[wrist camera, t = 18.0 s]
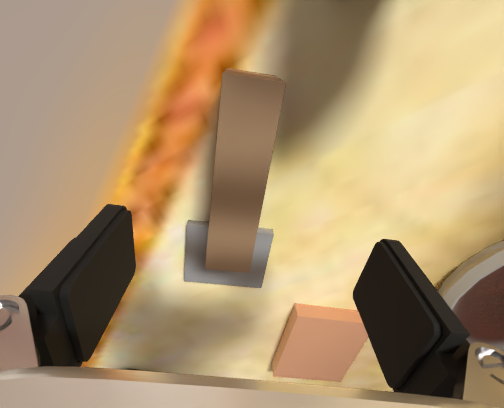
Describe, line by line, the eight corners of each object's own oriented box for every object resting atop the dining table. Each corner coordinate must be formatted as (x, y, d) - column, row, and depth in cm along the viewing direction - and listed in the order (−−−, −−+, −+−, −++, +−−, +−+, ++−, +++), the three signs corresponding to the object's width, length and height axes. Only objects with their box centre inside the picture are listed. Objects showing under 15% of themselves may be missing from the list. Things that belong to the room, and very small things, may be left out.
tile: (297, 316, 26) (273, 376, 30) (375, 324, 27) (340, 381, 31) (294, 299, 28) (271, 359, 32) (367, 308, 29) (335, 364, 33)
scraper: (195, 62, 17) (179, 65, 12) (305, 80, 18) (326, 89, 13) (185, 274, 25) (173, 321, 21) (260, 281, 26) (264, 328, 21)
